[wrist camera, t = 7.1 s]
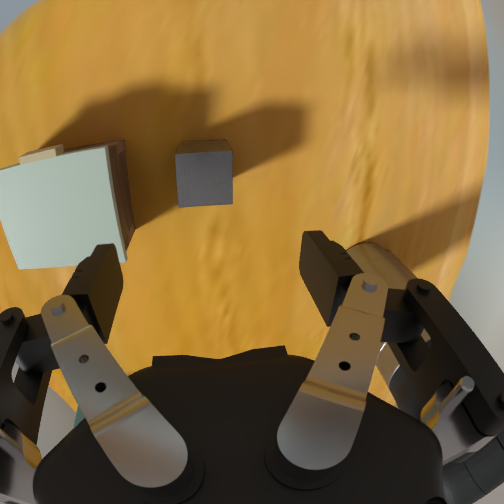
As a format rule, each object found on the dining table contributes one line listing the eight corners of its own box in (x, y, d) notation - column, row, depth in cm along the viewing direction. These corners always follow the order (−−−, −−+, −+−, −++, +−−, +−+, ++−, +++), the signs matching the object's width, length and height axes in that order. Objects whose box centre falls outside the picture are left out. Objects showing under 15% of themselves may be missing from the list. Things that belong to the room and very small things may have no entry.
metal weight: (225, 139, 28) (232, 151, 22) (225, 181, 30) (232, 204, 24) (181, 141, 27) (175, 154, 21) (183, 183, 29) (178, 207, 23)
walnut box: (124, 139, 26) (106, 150, 21) (135, 229, 31) (123, 257, 25) (29, 158, 24) (0, 172, 19) (46, 238, 29) (24, 264, 24)
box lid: (109, 135, 20) (103, 139, 19) (128, 253, 26) (125, 263, 25) (-5, 161, 18) (-14, 167, 17) (24, 261, 24) (18, 270, 23)
